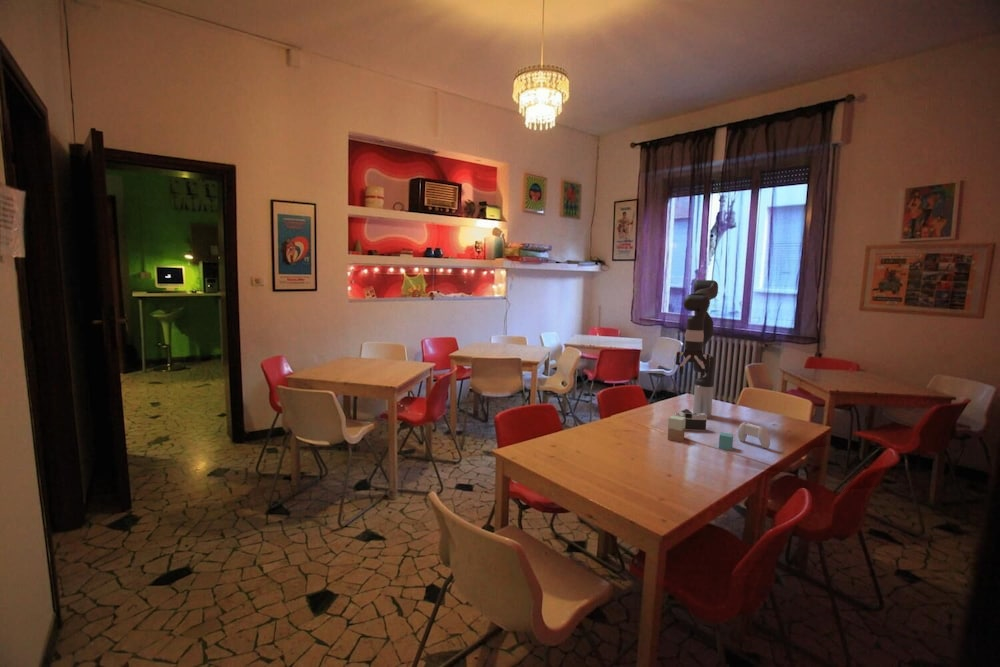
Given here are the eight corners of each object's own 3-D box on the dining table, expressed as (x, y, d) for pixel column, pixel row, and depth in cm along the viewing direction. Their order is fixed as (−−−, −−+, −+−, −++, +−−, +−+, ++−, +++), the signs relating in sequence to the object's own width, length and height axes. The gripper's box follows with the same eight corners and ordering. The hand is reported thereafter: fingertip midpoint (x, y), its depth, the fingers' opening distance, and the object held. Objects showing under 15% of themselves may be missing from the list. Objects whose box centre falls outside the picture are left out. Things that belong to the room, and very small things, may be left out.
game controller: (771, 449, 206) (773, 427, 205) (765, 451, 204) (767, 428, 203) (740, 440, 218) (741, 419, 217) (734, 441, 216) (736, 420, 215)
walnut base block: (667, 435, 223) (668, 425, 222) (683, 437, 220) (684, 427, 220) (667, 439, 216) (668, 429, 216) (683, 442, 214) (684, 431, 213)
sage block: (671, 425, 222) (672, 415, 221) (685, 428, 218) (685, 417, 218) (668, 428, 217) (668, 417, 217) (681, 431, 214) (682, 420, 213)
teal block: (719, 445, 210) (720, 432, 210) (732, 447, 208) (733, 434, 207) (718, 448, 206) (719, 435, 205) (731, 450, 203) (732, 437, 203)
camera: (702, 426, 239) (703, 407, 238) (707, 431, 230) (709, 411, 229) (669, 425, 240) (670, 405, 239) (674, 430, 232) (675, 410, 231)
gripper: (712, 340, 211) (710, 376, 212) (679, 338, 218) (676, 372, 219) (710, 342, 204) (707, 378, 206) (675, 339, 211) (673, 375, 213)
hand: (691, 375), depth 213 cm, fingers open, 8 cm apart
